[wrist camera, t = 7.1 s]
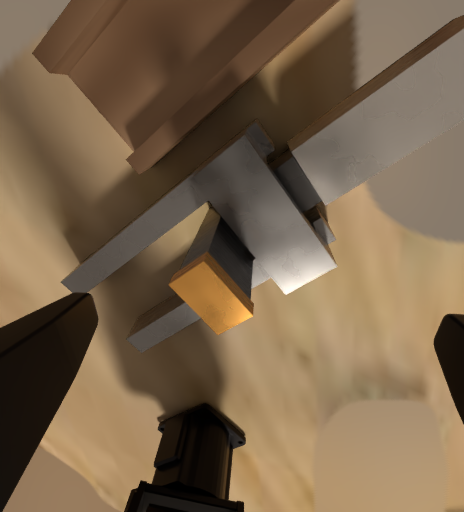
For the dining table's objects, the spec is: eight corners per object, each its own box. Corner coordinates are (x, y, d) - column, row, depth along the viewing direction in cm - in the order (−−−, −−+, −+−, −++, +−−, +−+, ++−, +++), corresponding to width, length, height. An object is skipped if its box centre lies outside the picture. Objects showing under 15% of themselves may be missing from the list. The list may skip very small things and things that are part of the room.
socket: (328, 223, 19) (346, 261, 15) (152, 330, 25) (128, 380, 20) (257, 118, 17) (254, 126, 12) (79, 264, 22) (35, 305, 18)
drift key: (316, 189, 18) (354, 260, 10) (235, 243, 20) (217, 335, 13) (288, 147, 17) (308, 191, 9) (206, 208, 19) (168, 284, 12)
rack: (351, -11, 14) (366, -29, 12) (153, 166, 18) (139, 174, 16) (261, -196, 11) (260, -258, 9) (61, 58, 16) (32, 53, 14)
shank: (476, 82, 15) (529, 80, 12) (315, 186, 18) (325, 205, 15) (452, 19, 14) (505, -2, 11) (286, 141, 17) (291, 152, 14)
